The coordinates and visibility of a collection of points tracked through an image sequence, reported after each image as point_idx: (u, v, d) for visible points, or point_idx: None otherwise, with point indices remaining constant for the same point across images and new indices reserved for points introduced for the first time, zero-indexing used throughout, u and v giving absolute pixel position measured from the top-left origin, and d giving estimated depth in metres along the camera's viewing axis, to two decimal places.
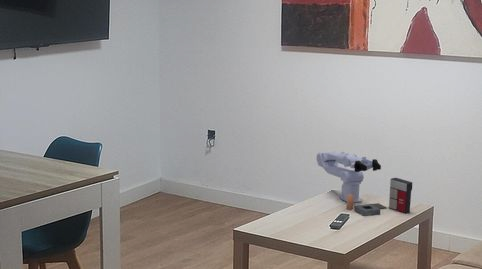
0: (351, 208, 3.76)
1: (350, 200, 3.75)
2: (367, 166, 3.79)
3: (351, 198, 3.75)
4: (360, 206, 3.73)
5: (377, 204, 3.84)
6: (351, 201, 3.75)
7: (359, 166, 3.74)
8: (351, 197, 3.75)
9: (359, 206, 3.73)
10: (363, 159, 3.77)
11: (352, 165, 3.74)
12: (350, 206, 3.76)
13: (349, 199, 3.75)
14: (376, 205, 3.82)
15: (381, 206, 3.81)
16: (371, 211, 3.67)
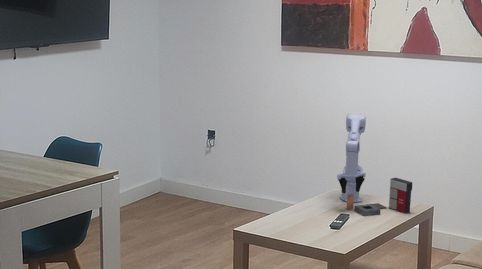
0: (351, 208, 3.76)
1: (350, 200, 3.75)
2: None
3: (351, 198, 3.75)
4: (360, 206, 3.73)
5: (377, 204, 3.84)
6: (351, 201, 3.75)
7: None
8: (351, 197, 3.75)
9: (359, 206, 3.73)
10: (353, 176, 3.71)
11: (338, 179, 3.71)
12: (350, 206, 3.76)
13: (349, 199, 3.75)
14: (376, 205, 3.82)
15: (381, 206, 3.81)
16: (371, 211, 3.67)
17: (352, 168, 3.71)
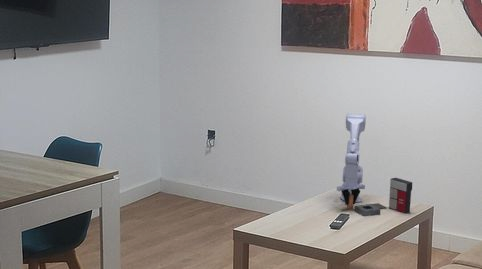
0: (351, 208, 3.76)
1: (350, 200, 3.75)
2: None
3: (351, 198, 3.75)
4: (360, 206, 3.73)
5: (377, 204, 3.84)
6: (351, 201, 3.75)
7: None
8: (351, 197, 3.75)
9: (359, 206, 3.73)
10: (352, 188, 3.73)
11: None
12: (350, 206, 3.76)
13: (349, 199, 3.75)
14: (376, 205, 3.82)
15: (381, 206, 3.81)
16: (371, 211, 3.67)
17: (351, 180, 3.72)
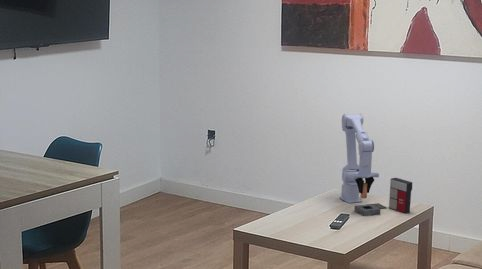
0: (365, 197, 3.71)
1: (364, 189, 3.70)
2: None
3: (365, 186, 3.69)
4: (360, 206, 3.73)
5: (377, 204, 3.84)
6: (365, 190, 3.70)
7: None
8: (365, 185, 3.69)
9: (359, 206, 3.73)
10: (366, 177, 3.67)
11: (351, 179, 3.67)
12: (364, 195, 3.70)
13: (363, 187, 3.70)
14: (376, 205, 3.82)
15: (381, 206, 3.81)
16: (371, 211, 3.67)
17: (365, 168, 3.66)
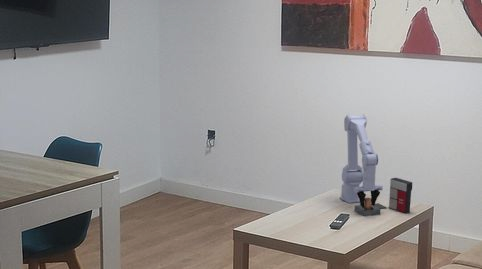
0: None
1: (368, 204, 3.70)
2: None
3: (369, 202, 3.70)
4: (360, 206, 3.73)
5: (377, 204, 3.84)
6: (369, 205, 3.70)
7: None
8: (368, 200, 3.69)
9: (359, 206, 3.73)
10: None
11: (355, 192, 3.67)
12: None
13: (367, 203, 3.70)
14: (376, 205, 3.82)
15: (381, 206, 3.81)
16: (371, 211, 3.67)
17: (369, 181, 3.66)
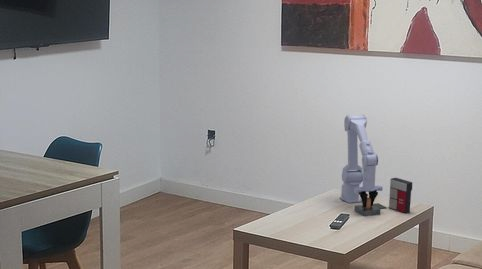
0: None
1: (368, 204, 3.70)
2: None
3: (369, 202, 3.70)
4: (360, 206, 3.73)
5: (377, 204, 3.84)
6: (369, 205, 3.70)
7: None
8: (368, 200, 3.69)
9: (359, 206, 3.73)
10: (370, 190, 3.67)
11: (355, 192, 3.67)
12: None
13: (367, 203, 3.70)
14: (376, 205, 3.82)
15: (381, 206, 3.81)
16: (371, 211, 3.67)
17: (369, 182, 3.66)
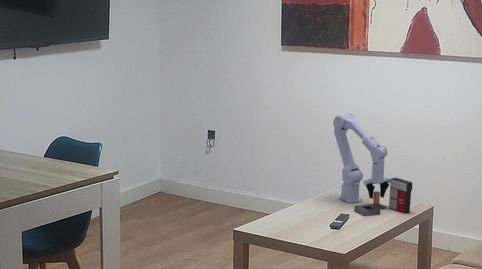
0: (377, 205, 3.80)
1: (376, 197, 3.79)
2: None
3: (377, 195, 3.79)
4: (360, 206, 3.73)
5: None
6: (378, 199, 3.79)
7: None
8: (377, 194, 3.79)
9: (359, 206, 3.73)
10: (379, 182, 3.76)
11: (365, 184, 3.76)
12: (376, 203, 3.80)
13: (375, 196, 3.79)
14: None
15: (381, 206, 3.81)
16: (371, 211, 3.67)
17: (378, 174, 3.75)
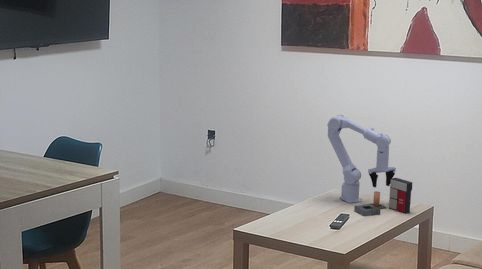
0: (377, 205, 3.80)
1: (377, 198, 3.79)
2: None
3: (378, 195, 3.79)
4: (360, 206, 3.73)
5: None
6: (378, 199, 3.79)
7: None
8: (378, 194, 3.78)
9: (359, 206, 3.73)
10: (384, 171, 3.79)
11: (369, 173, 3.79)
12: (377, 203, 3.80)
13: (376, 196, 3.79)
14: None
15: (381, 206, 3.81)
16: (371, 211, 3.67)
17: (383, 163, 3.78)
